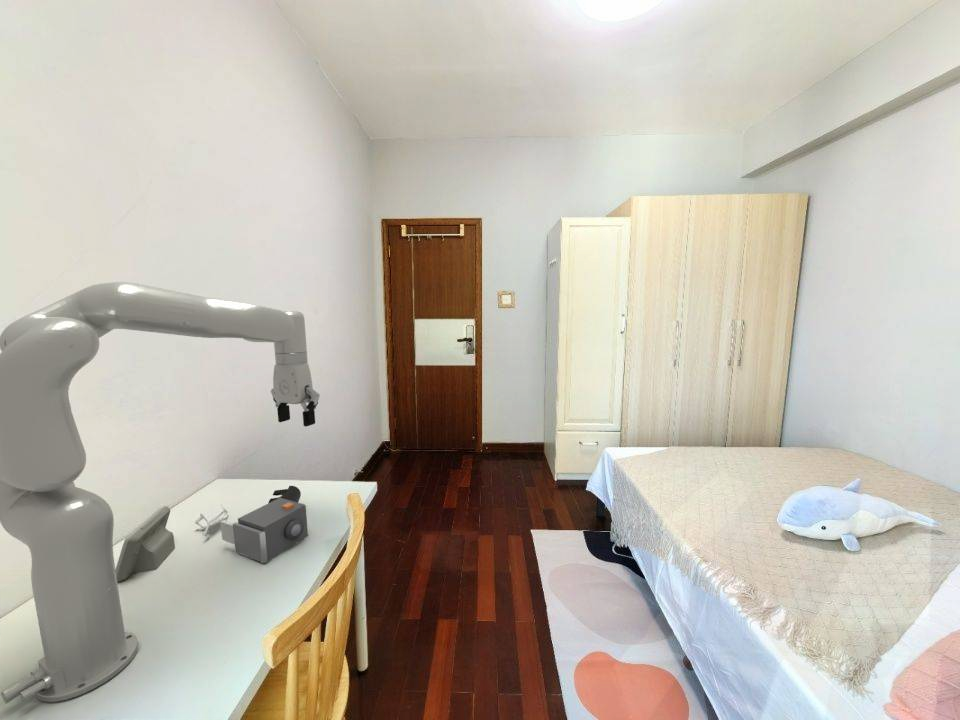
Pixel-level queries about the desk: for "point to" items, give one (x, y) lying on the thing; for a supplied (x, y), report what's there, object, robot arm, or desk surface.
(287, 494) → the black curved claw shape
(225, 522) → the side door
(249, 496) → the desk surface
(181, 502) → the desk surface
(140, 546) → the digital clock
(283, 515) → the camera body
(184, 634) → the desk surface
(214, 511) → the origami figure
